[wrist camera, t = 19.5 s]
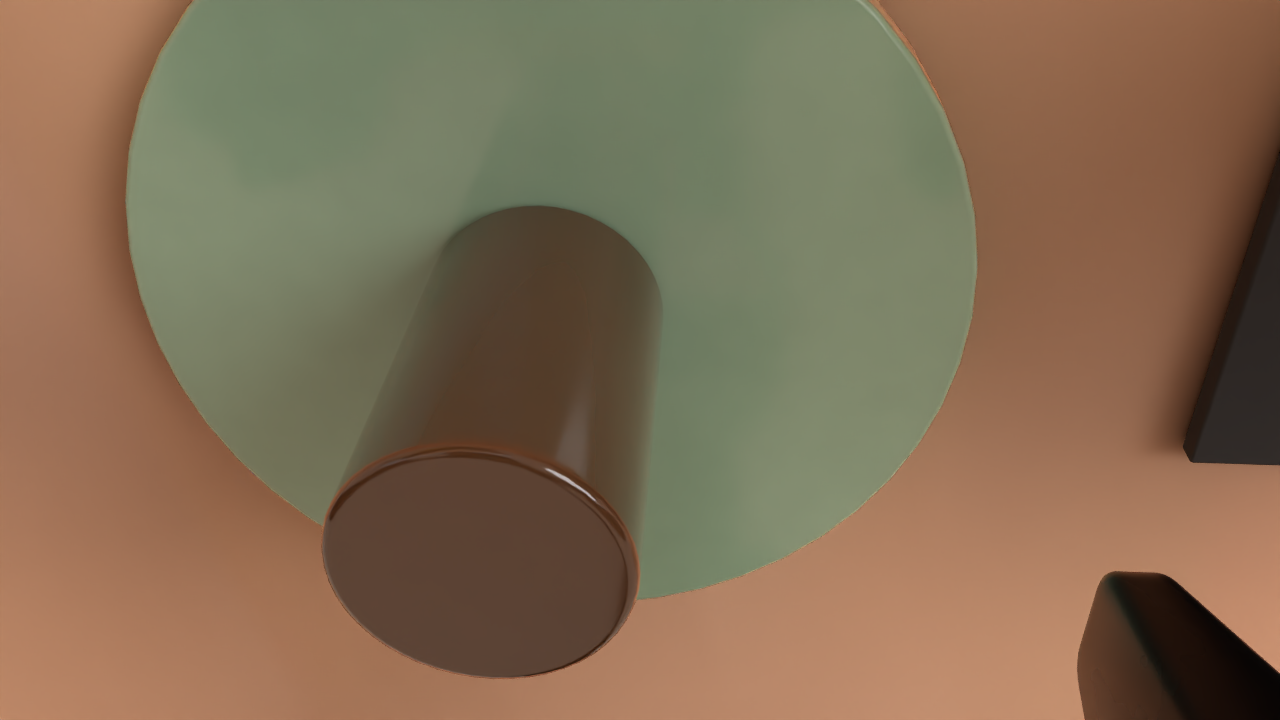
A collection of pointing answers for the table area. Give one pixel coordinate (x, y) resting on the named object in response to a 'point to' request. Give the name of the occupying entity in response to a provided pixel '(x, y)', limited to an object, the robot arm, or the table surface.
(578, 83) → the lid
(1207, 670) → the robot arm
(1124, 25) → the table surface
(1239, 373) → the mat
